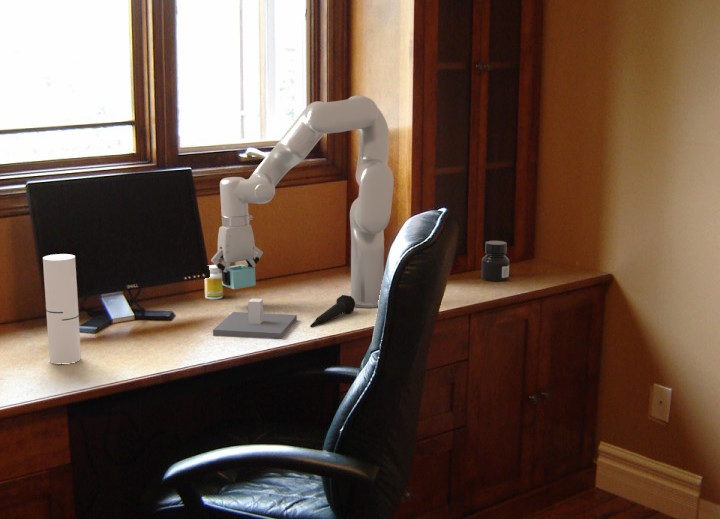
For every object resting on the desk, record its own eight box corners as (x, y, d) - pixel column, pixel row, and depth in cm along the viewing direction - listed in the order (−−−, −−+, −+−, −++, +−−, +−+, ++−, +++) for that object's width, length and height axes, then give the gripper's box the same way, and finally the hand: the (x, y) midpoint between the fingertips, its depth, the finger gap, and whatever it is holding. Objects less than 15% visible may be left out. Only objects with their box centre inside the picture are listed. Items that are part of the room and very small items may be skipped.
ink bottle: (510, 282, 309) (511, 245, 306) (482, 282, 309) (484, 245, 306) (506, 275, 318) (507, 239, 316) (479, 275, 318) (480, 239, 316)
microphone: (317, 339, 257) (356, 313, 273) (321, 321, 255) (360, 296, 271) (300, 330, 259) (340, 305, 275) (304, 312, 257) (344, 288, 273)
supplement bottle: (201, 297, 288) (200, 265, 286) (217, 294, 292) (216, 263, 290) (210, 300, 284) (210, 269, 282) (226, 298, 288) (225, 266, 286)
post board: (296, 320, 264) (296, 293, 262) (280, 338, 247) (280, 310, 245) (233, 317, 267) (232, 290, 265) (213, 335, 249) (212, 307, 248)
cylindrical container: (53, 356, 232) (46, 254, 227) (83, 355, 233) (77, 253, 227) (46, 365, 225) (39, 260, 220) (77, 364, 226) (71, 260, 220)
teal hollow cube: (243, 281, 280) (242, 264, 279) (255, 285, 275) (254, 268, 274) (222, 284, 276) (221, 267, 275) (233, 289, 271) (232, 272, 270)
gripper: (255, 216, 279) (258, 275, 283) (201, 223, 270) (205, 285, 273) (268, 219, 273) (271, 280, 277) (213, 227, 264) (217, 290, 267)
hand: (238, 282), depth 275 cm, fingers closed on teal hollow cube, 7 cm apart
